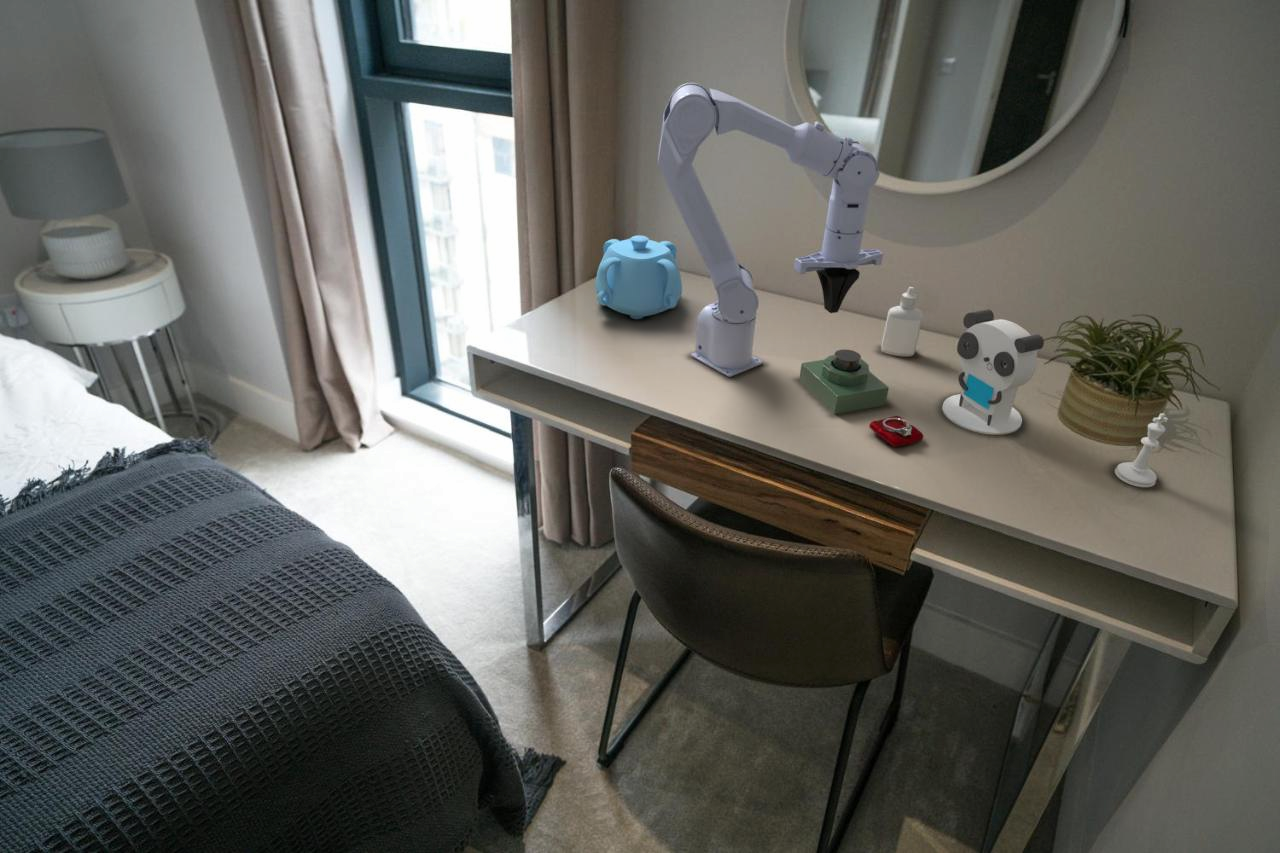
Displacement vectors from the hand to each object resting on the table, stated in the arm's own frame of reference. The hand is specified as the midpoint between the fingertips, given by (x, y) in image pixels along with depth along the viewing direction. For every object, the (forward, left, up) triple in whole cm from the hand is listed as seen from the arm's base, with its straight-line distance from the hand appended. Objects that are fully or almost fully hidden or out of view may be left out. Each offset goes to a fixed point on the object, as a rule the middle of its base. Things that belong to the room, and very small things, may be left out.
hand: (831, 310), depth 127 cm
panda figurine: (+25, +7, -10) cm, 28 cm away
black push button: (+8, -5, -5) cm, 11 cm away
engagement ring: (+21, -9, -10) cm, 25 cm away
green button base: (+8, -5, -10) cm, 14 cm away
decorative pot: (-37, -10, -10) cm, 40 cm away
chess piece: (+47, +9, -10) cm, 49 cm away
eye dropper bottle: (+5, +14, -10) cm, 18 cm away
